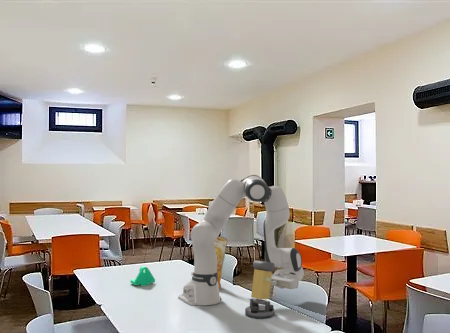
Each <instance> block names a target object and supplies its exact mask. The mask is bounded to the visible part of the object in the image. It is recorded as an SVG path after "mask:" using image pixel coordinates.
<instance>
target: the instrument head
mask: <svg viewBox="0 0 450 333" xmlns="http://www.w3.org/2000/svg"><path fill="white" fill-rule="evenodd" d="M252 267H253V270H254V271H253V279H252V289H251V295H250V298H253V303H258V304H259V305H264V306H265V302H267V301H268V300H270V294H271V287H272V286H271V276H272V274H273V272H274V271H275V269H276V268H275V265H274V263H271V262H265V260H264V261H262V260H257V259H256V260H254V261H253V263H252Z"/></svg>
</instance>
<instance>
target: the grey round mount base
mask: <svg viewBox="0 0 450 333" xmlns="http://www.w3.org/2000/svg"><path fill="white" fill-rule="evenodd" d="M266 301H267V302H265V305H262V304H258V303H253V297H251V298H249V306H246V308H245V310H244V314H245V316H246V317H248V318H250V319H255V320H267V319H271V318H273V317H275V312H276V310H275V308H274V305H273V304H271V301H268V300H266Z"/></svg>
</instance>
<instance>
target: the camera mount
mask: <svg viewBox="0 0 450 333" xmlns="http://www.w3.org/2000/svg"><path fill="white" fill-rule="evenodd" d="M151 283H152V284H153V283H156V278H155V277H154V275H153V274H152V273H151V271H150V269H149V268H148V267H146V266H145V265H143V266H140V268H139V272H138V274H137V275H136V277H135V278H133V279H130V284H132V285H134V286H140V287H143V286H149V285H150V284H151Z"/></svg>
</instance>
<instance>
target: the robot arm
mask: <svg viewBox="0 0 450 333" xmlns="http://www.w3.org/2000/svg"><path fill="white" fill-rule="evenodd" d="M246 197H247V199H249V200H250V201H252V202H254V203H255V202H256V203H263V204H264V206H265V211H266V218H265V219H264V221H263V240H264V262H271V263H274V265H275V268H274V269H277V268H279V269H277V270H274V271H275V272H274V273H272V276H271V286H270V287H276V288H279V289H280V290H281V289H287V290H288V289H289V290H295V289H299V282H301V281H302V280H303V279H304V275H305V271H304V268H303V267H302V266H303V260H302V258H303V257H302V254H301V253H300V251H299V250H298V249H297V248H295V247H277V246H276V241H275V230H276V229H279V228H281V227H282V226H283V225H286V223H287V222H288V221H289V219H290V216H291V214H290V213H291V212H290V208H289V204H288V200H287V197H286V194H285V192H284V190H283V188H282V187H280V185H279V186H278V185H272V186H269V185H268V184H267V183H266V182H265V180H264V179H263V178H262V177H261V176H259V175H257V174H253V175H252V174H251V175H248V176H247V177H245V178H243V179H241V180H239V179H237V178H230V179H229V180H227V182H226V183H225V184H224V185H223V186H222V187H221V188H220V190H219V191H218V192H217V194H216V196H215V198H214V199H213V200H212V202H211V203H210V205H209V206H208V209H207V211H206V213H205V215H204V217H203V219H201V222H198V223H196V224H195V225H193V227H192V229H191V231H190V235H189V237H190V240H191V243H192V250H193V258H194V259H193V260H194V262H193V266H194V268H193V272H192V273H190V276H192V277H191V279H190V281H188V282H187V283H185V285H184V286H183V292H182V294H179V295H178V299H179V300H181V302H182V301H183V302H185V304H188V305H189V306H212V305H216V304H219V303H221V298H222V297H221V295H220V289H219V285H218V282H217V280H218V272H217V255H216V251H215V244H214V241H215V240H216V239H217V237H218V236H219V237H220V234H221V233H222V230H223V229H224V227H225V225H226V224H227V222H228V220H229V218H230V217H231V215H232V214H233V213H234V211H235V209H236V208H237V206H238V204H239V203H240V201H241V200H243V199H244V198H246Z"/></svg>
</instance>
